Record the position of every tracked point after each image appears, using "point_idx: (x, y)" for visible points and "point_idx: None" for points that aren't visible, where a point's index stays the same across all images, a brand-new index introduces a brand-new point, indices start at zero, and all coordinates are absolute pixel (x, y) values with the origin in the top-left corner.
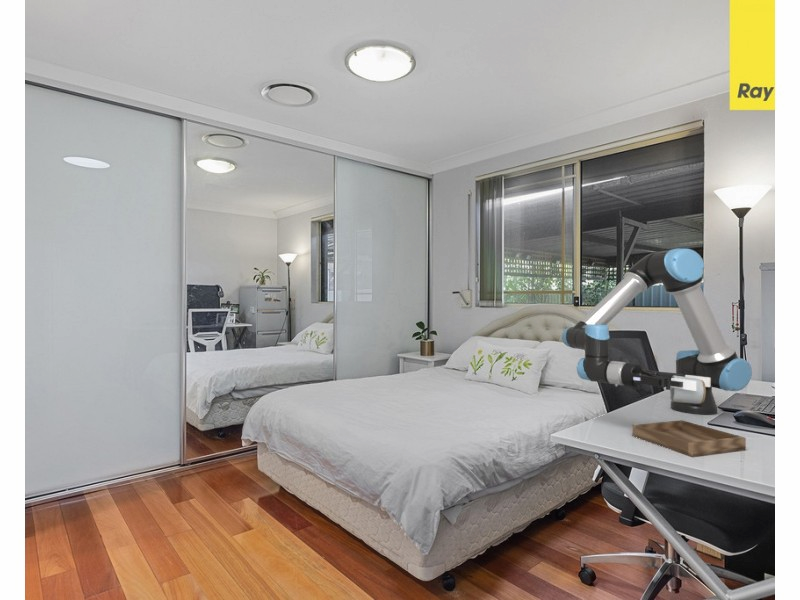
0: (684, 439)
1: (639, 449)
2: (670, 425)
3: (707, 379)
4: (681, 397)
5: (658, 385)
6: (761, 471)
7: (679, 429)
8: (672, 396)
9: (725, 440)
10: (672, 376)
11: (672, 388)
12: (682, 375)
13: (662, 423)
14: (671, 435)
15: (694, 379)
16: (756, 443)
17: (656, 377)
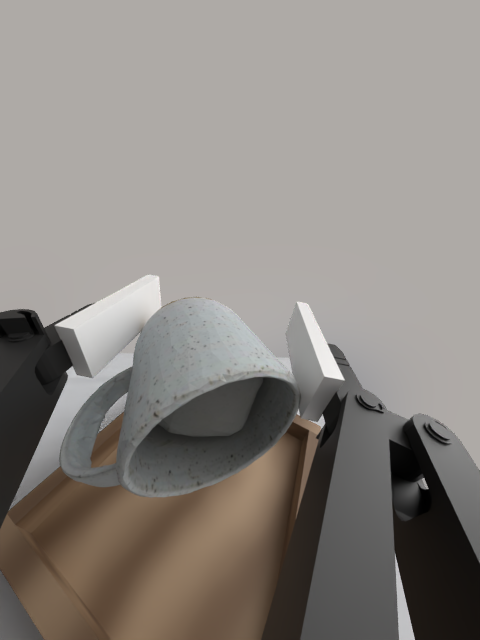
0: None
1: (406, 625)
2: (61, 583)
3: (156, 286)
4: (261, 407)
5: (428, 504)
6: (283, 360)
7: (39, 544)
8: (173, 480)
9: None
10: (202, 392)
11: (135, 466)
12: (38, 348)
13: (92, 629)
14: (169, 544)
15: (221, 308)
16: (123, 362)
17: (474, 534)
